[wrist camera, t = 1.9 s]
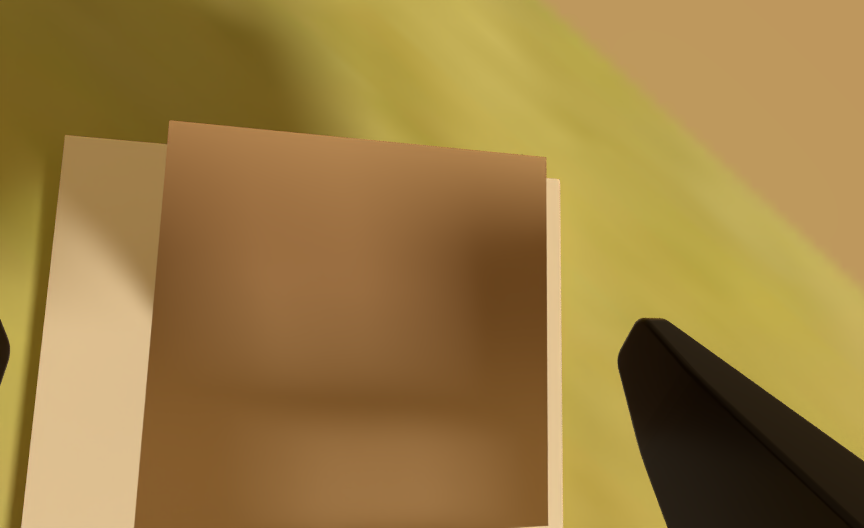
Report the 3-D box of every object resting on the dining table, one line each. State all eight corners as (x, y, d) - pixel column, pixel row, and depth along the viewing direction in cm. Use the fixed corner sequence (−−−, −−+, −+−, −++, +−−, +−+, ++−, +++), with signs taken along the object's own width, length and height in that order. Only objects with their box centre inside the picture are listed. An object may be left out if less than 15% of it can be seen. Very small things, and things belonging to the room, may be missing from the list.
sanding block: (405, 416, 16) (548, 526, 7) (237, 417, 15) (133, 548, 6) (409, 257, 16) (546, 157, 7) (248, 249, 15) (169, 120, 6)
